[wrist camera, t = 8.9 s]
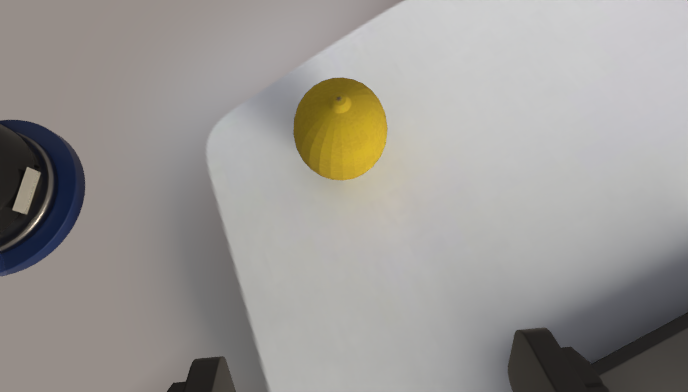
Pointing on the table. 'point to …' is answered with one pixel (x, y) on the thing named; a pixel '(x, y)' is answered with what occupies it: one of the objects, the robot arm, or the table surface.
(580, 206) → the table surface
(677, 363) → the scale
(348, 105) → the lemon
